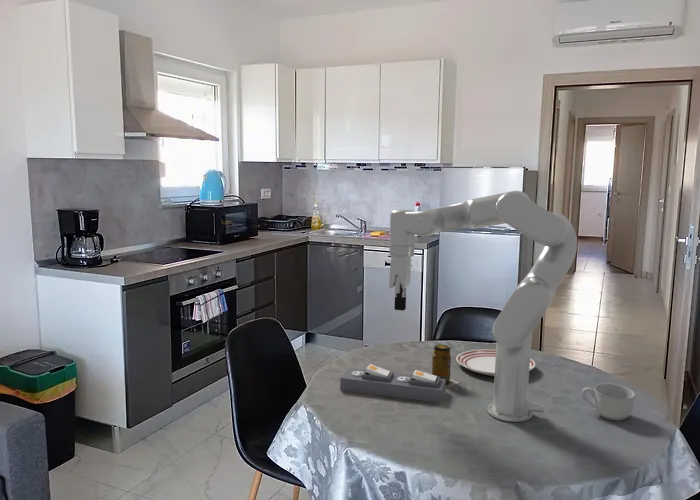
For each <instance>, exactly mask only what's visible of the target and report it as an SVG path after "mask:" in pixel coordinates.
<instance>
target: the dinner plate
mask: <svg viewBox="0 0 700 500" xmlns="http://www.w3.org/2000/svg"><path fill="white" fill-rule="evenodd" d="M455 360H456V363H458V364H459V365H461V366H462V367H464V368H466V369H468V370H469V371H472V372H475V373H477V374H481V375H484V376H488V377H495V360H496V349H490V348H489V349H487V348H486V349H485V348H484V349H483V348H482V349H472V350H467V351H463V352H461V353H458V355H456V358H455ZM535 367H536V362H535V360H534V359H532V358H531V357H530V368H529V372H530V371H532V370H533V369H535Z"/></svg>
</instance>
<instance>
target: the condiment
mask: <svg viewBox="0 0 700 500" xmlns="http://www.w3.org/2000/svg"><path fill="white" fill-rule="evenodd" d="M451 360H452V355H451V347H450V346H449V345H447V344H443V343H442V344H436V345H434V347H433V354H432V363H431V374H432V375H435V376H437V377H440V378H441V379H446V388H448V387H451V386H455V385H457V384H459V383H460V382H459V381H456V380H453V379H451V362H452V361H451Z"/></svg>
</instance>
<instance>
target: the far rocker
mask: <svg viewBox="0 0 700 500" xmlns="http://www.w3.org/2000/svg"><path fill="white" fill-rule="evenodd" d="M365 370H366V372H368V373H370V374H373V375H376V376H382V377H388V376H389V374H390V371H391V370H387V369H385V368H382V367H379V366H376V365H374V364H371V363H370V364H369V365H368V366H367V367H366V369H365Z"/></svg>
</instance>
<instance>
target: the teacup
mask: <svg viewBox="0 0 700 500" xmlns="http://www.w3.org/2000/svg"><path fill="white" fill-rule="evenodd" d="M587 392H590V393H591V394H592V398H593V400H591V399H589V398H588V397H587V396H586V393H587ZM581 397H582V399H583V400H584V401H585V402H586V403H587V404H589V405H590V407H592V408H593V409H595V411H596V412H597V413H598V414H599V415H600V416H601V417H603V418H604V419H607V420H610V421H622V420H625V419H627V418H629V417H630V416H631V415H632V413H633V409H634V405H635V397H636V393H635V391H633V389H630V388H629V387H627V386H624V385H620V384H618V383H617V384H616V383H612V382H611V383H609V382H601V383H598V384H596V385H595V386H594V388H592V387H588V386H587V387H586V386H585V387H584V388H582V390H581Z"/></svg>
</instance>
